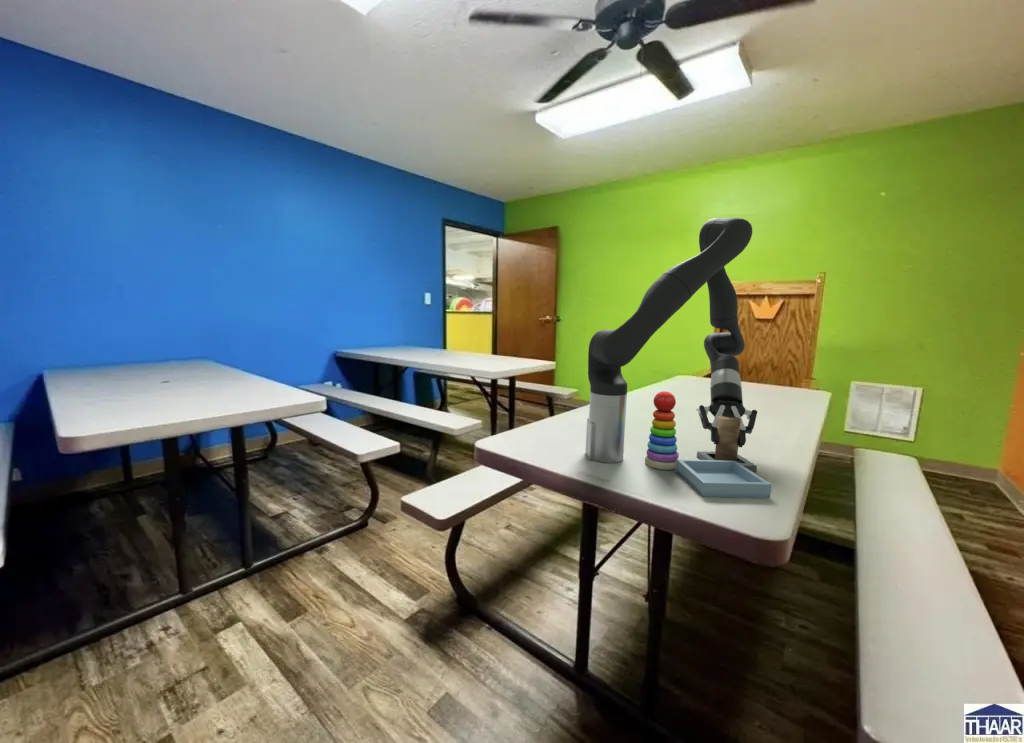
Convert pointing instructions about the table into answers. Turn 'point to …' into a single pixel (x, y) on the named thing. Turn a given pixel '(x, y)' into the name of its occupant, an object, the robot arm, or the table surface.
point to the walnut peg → (727, 438)
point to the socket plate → (740, 460)
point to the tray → (722, 479)
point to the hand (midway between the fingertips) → (728, 444)
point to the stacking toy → (663, 434)
